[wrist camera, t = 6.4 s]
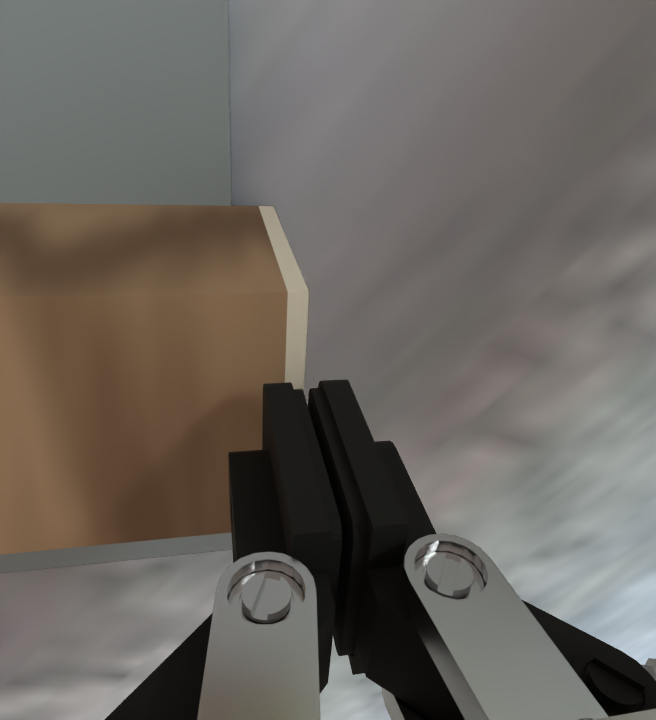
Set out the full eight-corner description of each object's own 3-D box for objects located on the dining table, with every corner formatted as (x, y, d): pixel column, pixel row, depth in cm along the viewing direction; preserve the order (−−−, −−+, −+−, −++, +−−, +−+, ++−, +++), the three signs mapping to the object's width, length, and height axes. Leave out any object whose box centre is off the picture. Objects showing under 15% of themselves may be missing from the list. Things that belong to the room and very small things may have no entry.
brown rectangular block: (308, 291, 11) (-333, 302, 9) (296, 526, 14) (-191, 572, 12) (273, 206, 16) (-142, 200, 14) (270, 391, 19) (-75, 408, 17)
